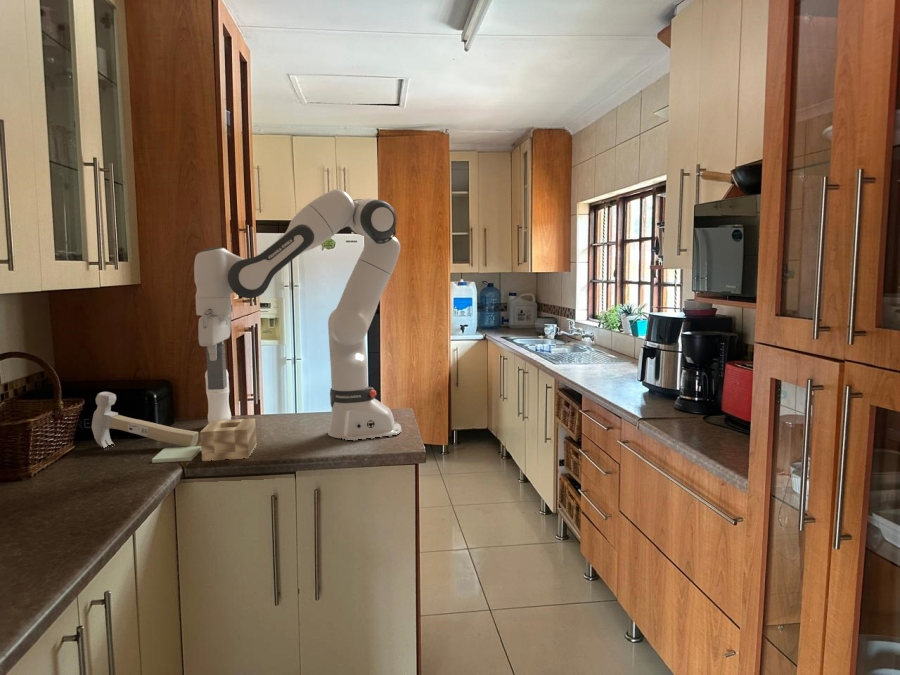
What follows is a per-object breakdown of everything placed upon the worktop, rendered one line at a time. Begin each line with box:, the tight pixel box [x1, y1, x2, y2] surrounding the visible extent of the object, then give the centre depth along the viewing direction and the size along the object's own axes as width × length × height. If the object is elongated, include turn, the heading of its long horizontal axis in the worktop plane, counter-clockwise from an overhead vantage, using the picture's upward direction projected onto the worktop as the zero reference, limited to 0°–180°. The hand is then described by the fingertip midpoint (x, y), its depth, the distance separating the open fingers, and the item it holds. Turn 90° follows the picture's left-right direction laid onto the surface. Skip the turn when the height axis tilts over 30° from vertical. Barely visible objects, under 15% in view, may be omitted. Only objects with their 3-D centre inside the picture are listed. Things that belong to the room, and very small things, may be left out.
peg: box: [205, 343, 227, 390], centre depth 162 cm, size 4×4×12 cm
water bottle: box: [204, 369, 232, 424], centre depth 193 cm, size 7×7×25 cm
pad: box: [151, 445, 202, 464], centre depth 164 cm, size 10×10×1 cm
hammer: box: [91, 391, 199, 449], centre depth 172 cm, size 16×5×30 cm
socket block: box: [199, 418, 257, 462], centre depth 165 cm, size 12×12×8 cm
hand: (216, 358), depth 162 cm, fingers closed on peg, 4 cm apart
